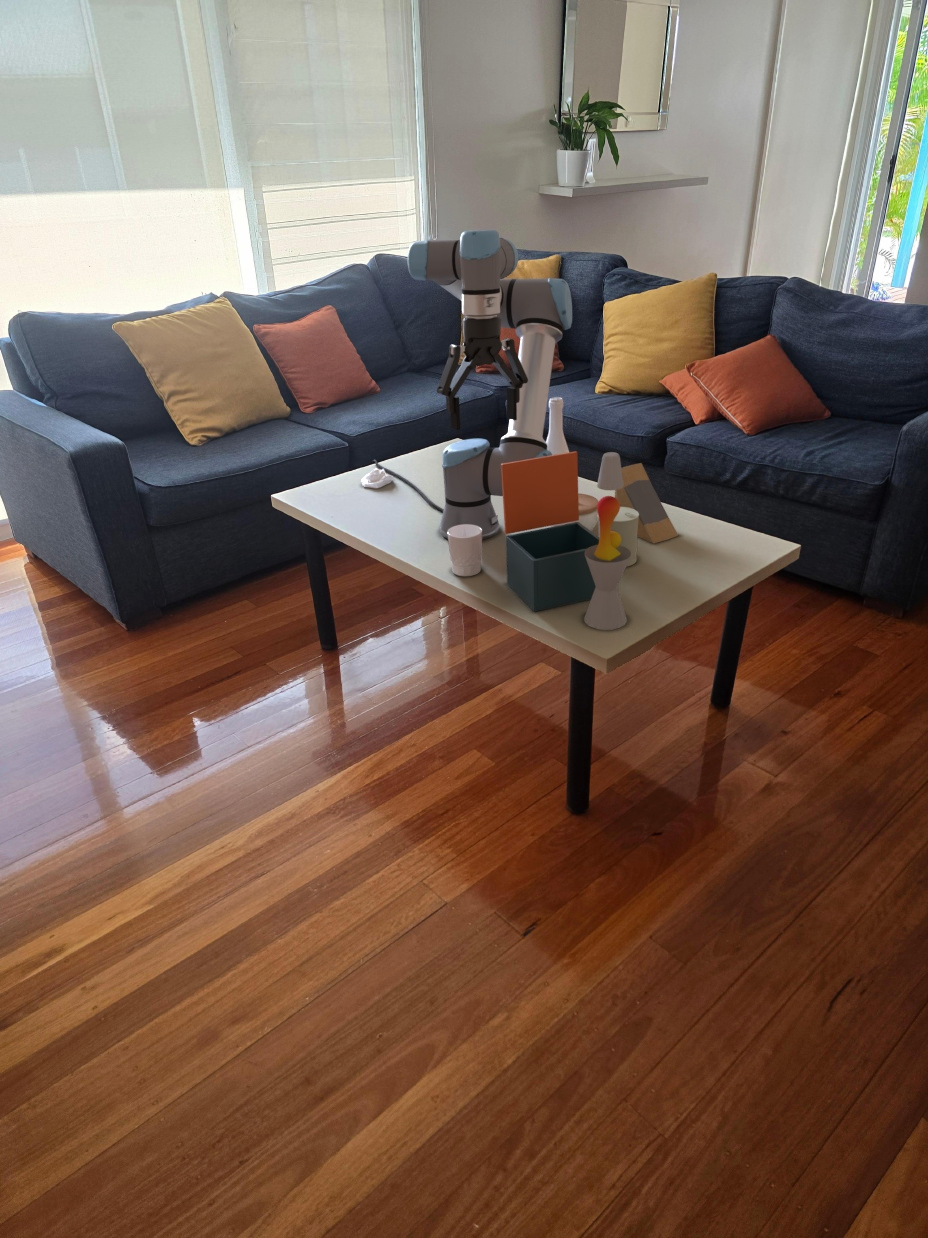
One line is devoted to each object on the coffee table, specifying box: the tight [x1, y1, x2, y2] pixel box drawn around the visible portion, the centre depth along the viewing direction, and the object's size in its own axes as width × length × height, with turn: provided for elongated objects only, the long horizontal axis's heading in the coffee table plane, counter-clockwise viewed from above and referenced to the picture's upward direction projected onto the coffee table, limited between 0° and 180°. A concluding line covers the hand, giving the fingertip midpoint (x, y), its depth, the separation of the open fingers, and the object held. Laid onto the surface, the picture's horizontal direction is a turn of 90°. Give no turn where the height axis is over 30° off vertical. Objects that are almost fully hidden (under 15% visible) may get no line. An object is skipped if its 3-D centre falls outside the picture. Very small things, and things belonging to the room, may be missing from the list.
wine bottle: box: [545, 396, 570, 455], centre depth 218 cm, size 10×10×30 cm
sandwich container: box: [614, 462, 679, 544], centre depth 206 cm, size 9×15×15 cm, turn 31°
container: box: [505, 522, 599, 613], centre depth 181 cm, size 15×18×12 cm
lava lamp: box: [583, 451, 631, 631], centre depth 162 cm, size 9×9×35 cm
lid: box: [501, 450, 579, 535], centre depth 181 cm, size 15×18×1 cm
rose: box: [360, 468, 394, 489], centre depth 250 cm, size 10×4×10 cm
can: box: [597, 507, 639, 568], centre depth 193 cm, size 9×9×12 cm
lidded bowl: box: [550, 492, 599, 532], centre depth 206 cm, size 13×13×11 cm
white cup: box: [447, 524, 483, 577], centre depth 192 cm, size 8×8×10 cm
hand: (484, 423), depth 174 cm, fingers open, 13 cm apart
